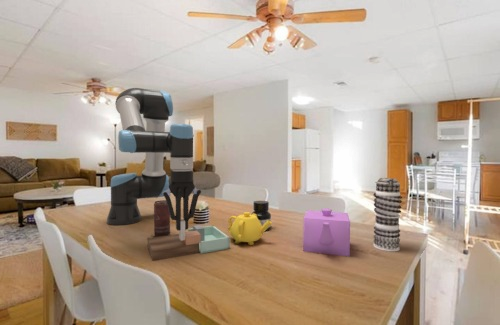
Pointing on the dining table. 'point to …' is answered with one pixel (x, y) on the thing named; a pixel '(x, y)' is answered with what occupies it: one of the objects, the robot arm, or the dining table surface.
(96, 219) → the dining table surface
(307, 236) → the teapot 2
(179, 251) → the plate
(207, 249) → the tray
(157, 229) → the can
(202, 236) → the grey square block
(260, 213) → the ink bottle
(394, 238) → the decorative candle
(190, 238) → the terracotta tile
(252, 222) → the teapot
